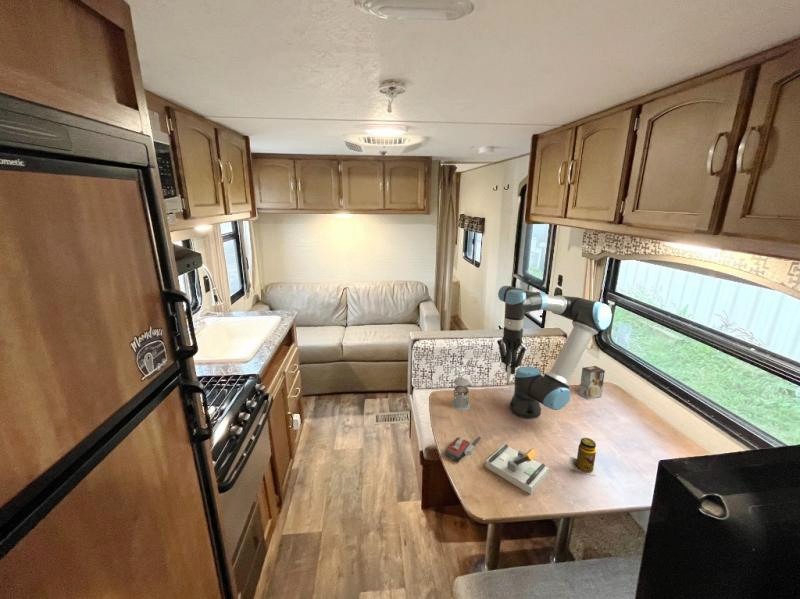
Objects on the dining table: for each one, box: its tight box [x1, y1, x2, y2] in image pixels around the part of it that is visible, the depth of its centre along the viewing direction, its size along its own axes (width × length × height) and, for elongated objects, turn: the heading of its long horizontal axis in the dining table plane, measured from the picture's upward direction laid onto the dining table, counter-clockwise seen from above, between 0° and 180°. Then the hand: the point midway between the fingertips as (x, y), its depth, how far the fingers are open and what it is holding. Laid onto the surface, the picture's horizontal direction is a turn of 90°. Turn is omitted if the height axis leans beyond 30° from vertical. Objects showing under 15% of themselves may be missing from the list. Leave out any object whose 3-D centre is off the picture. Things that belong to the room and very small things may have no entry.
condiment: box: [569, 437, 597, 477], centre depth 134 cm, size 7×8×12 cm
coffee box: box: [579, 365, 606, 400], centre depth 185 cm, size 9×6×16 cm
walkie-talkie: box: [444, 436, 481, 463], centre depth 146 cm, size 9×4×20 cm
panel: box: [485, 444, 550, 495], centre depth 133 cm, size 14×19×6 cm
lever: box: [512, 448, 538, 466], centre depth 130 cm, size 6×2×10 cm
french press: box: [451, 361, 471, 412], centre depth 177 cm, size 10×12×25 cm
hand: (509, 379), depth 145 cm, fingers closed
